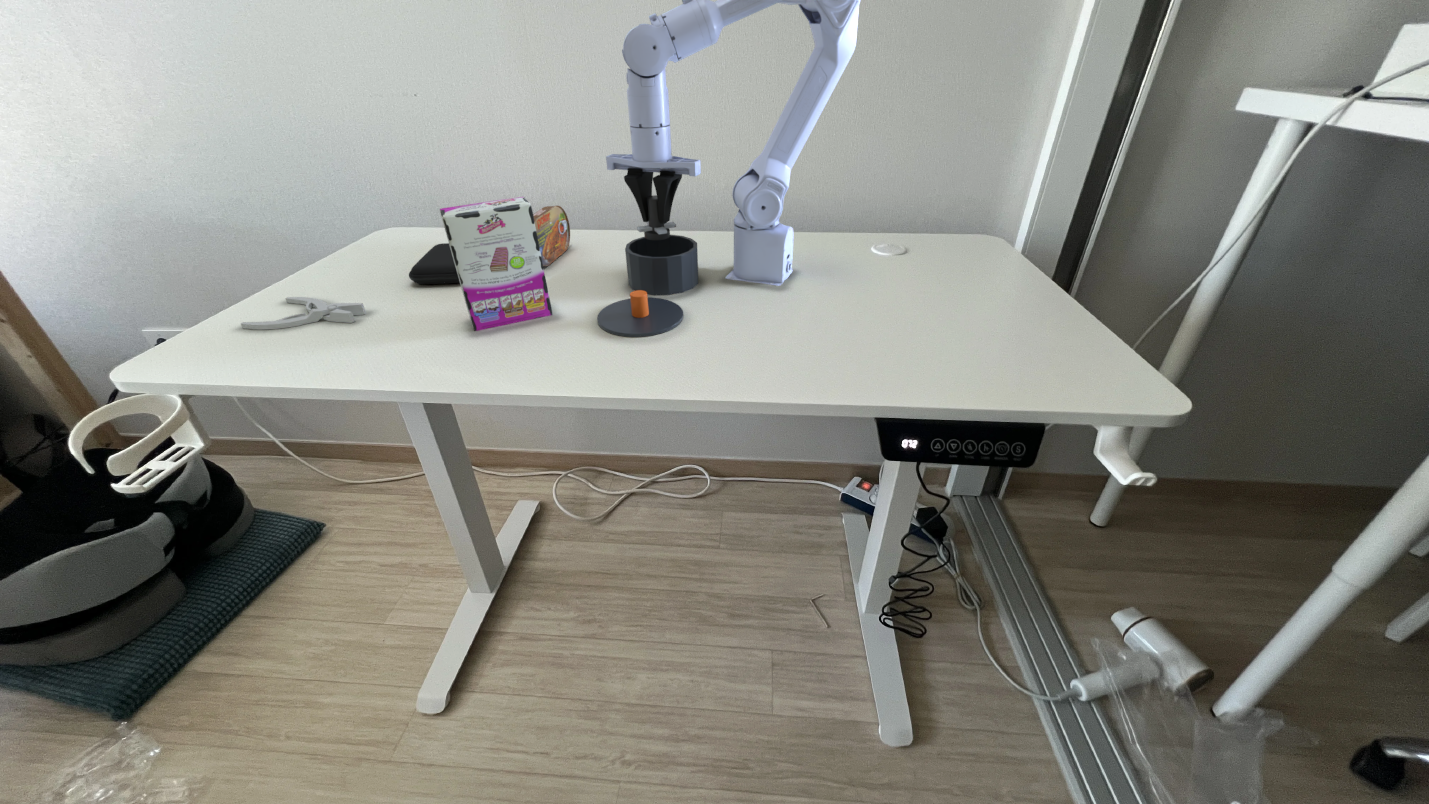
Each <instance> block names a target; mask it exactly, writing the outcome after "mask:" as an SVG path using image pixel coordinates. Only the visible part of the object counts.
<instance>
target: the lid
mask: <svg viewBox="0 0 1429 804" xmlns="http://www.w3.org/2000/svg"><path fill="white" fill-rule="evenodd" d="M596 318H597V324H598V326H599V327H600V328H601V329H602V330H603V331H604V332H607V333H609V334H610V335H611V334H612V335H615V336H619V337H627V338H641V337H643V338H644V337H651V336H656V335H660V334H664V333H666V332H669V331H671V330H673V329H675V328H676V327H678V326H679V325H680V324H681V323H682V321H683V319H684V310H683V308H682V307H681V306H680V305H679V304H678V303H676V302H674V301H672V300H669V299H665V298H661V297H648V294H647V292H646V291H643V290H636V291H634V290H632V291H631V292H630V293H629V298H625V299H622V300H618V301H614V302H612V303H610V304H608V305H606V306H604V307H603V308H602V309H601V310H600V311H599V312H598V314H597V317H596Z"/></svg>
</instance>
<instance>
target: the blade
mask: <svg viewBox="0 0 1429 804" xmlns="http://www.w3.org/2000/svg"><path fill="white" fill-rule="evenodd" d="M647 208H648V222H646V225H639V226H636V230H637V231H638V232H639V233H644V236H643V237H645V238H646V239H648V240H664V239H667V238H669V237H670V235H671V230H670V229H673V228H677V223H675V222H674V221H668V222H667V223H665V224H660V220H659V209H658V199H657V194H656V195H652V196H648V197H647Z"/></svg>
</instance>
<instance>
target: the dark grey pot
mask: <svg viewBox="0 0 1429 804" xmlns="http://www.w3.org/2000/svg"><path fill="white" fill-rule="evenodd" d="M624 252H625V261H626V272H627V283H628V286H629V287H630V289H632V291H636V290H643V291H646V292H647V296H648V295H649V296H673V295H677V294H683V293H685V292H688V291H690V290H692V289H694V288H695V287H696V286H698V285H699V257H698V254H699V253H698V252H699V251H698V242H697V241H696V240H694V239H693V238H691V237H688V236H684V235H678V234H670V237H669V238H667V239H664V240H648V239H646V238H645V236H641V237H638V238H635V239H632V240H631V241H629V242H628V243H626V245H625V248H624Z"/></svg>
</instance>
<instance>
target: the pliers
mask: <svg viewBox="0 0 1429 804" xmlns="http://www.w3.org/2000/svg"><path fill="white" fill-rule="evenodd" d="M285 301H286V303H288V304H296V305H304V306H305V309H306V311H307V313H308V314H306V313H305V312H302V313H297V314H296V313H295V314H291V315H289V316H285V317H281V318H280V319H276V320H267V321H242V322H240V326H241V328H242V329H245V330H246V329H247V330H277V329H286V328H294V327H299V326H303V325H307V324H311V323H317V322H319V321H320V320H321V319H323V321H326V322H327V321H328V322H334V323H349V324H352V323H354V322H356V319H355V316H361V315H362V316H364V315H366V314H367V311H366V309H365V308H366V307H365V306H364V303H363V302H334V303H333V302H332V303H327V302H326V301H324V300H322V299H319V298H316V297H315V298H314V297H308V296H307V297H306V296H288V297H285Z"/></svg>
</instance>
